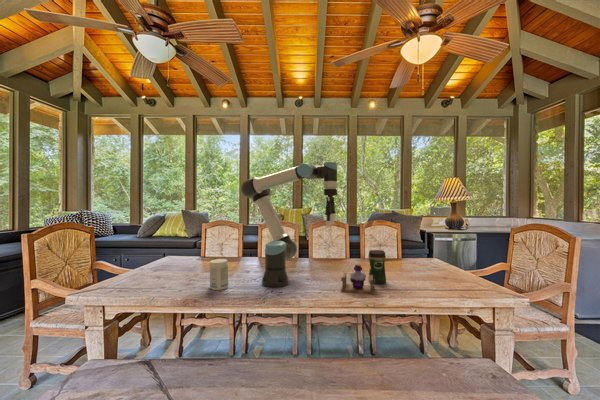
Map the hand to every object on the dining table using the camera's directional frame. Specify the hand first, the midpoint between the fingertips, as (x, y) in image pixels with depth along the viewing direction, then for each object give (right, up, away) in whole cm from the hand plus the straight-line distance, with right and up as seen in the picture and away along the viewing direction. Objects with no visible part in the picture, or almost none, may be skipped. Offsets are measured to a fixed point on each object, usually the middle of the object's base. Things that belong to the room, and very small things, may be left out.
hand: (330, 225), depth 159 cm
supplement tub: (-62, -33, -9) cm, 70 cm away
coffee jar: (+27, -33, 0) cm, 43 cm away
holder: (+13, -33, -13) cm, 38 cm away
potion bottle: (+13, -32, -13) cm, 37 cm away
